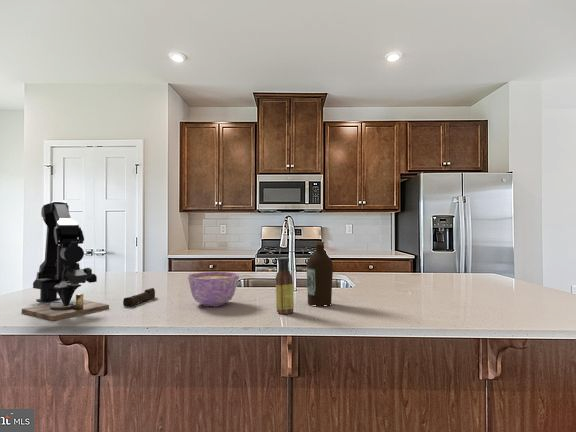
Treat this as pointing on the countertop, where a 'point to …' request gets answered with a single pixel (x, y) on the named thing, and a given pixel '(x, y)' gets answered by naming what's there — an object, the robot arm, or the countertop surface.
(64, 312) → the dial panel
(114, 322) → the countertop surface
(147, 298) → the hand tool
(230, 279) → the bowl of food
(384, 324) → the countertop surface
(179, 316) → the countertop surface
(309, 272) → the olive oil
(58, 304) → the dial
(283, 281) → the sauce bottle
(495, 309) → the countertop surface
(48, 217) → the robot arm
